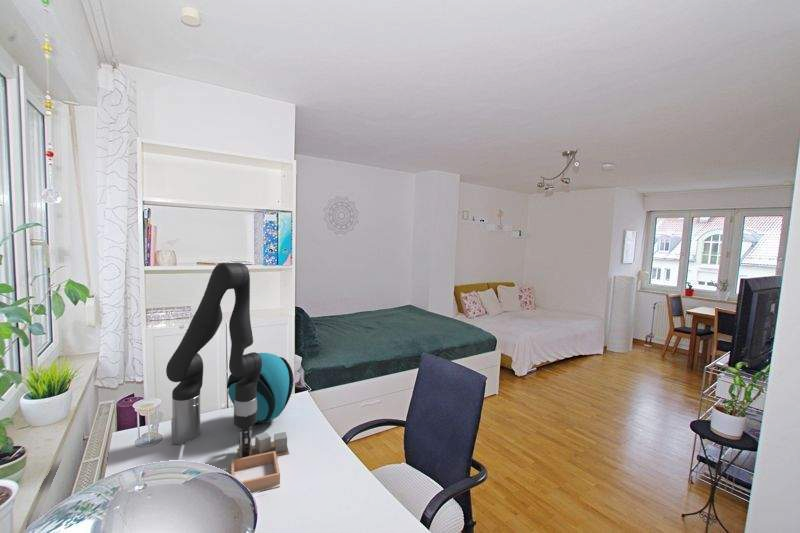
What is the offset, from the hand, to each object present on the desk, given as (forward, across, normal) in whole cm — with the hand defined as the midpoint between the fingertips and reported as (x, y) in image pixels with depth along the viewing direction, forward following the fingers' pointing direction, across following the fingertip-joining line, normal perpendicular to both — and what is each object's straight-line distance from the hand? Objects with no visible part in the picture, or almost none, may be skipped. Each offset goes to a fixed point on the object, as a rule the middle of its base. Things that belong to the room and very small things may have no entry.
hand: (245, 455), depth 126 cm
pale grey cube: (0, -2, +6) cm, 6 cm away
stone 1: (0, 0, 0) cm, 0 cm away
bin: (+1, +12, +2) cm, 13 cm away
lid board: (+1, -1, +6) cm, 6 cm away
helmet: (+1, -24, +7) cm, 25 cm away
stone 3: (0, 0, +12) cm, 12 cm away
